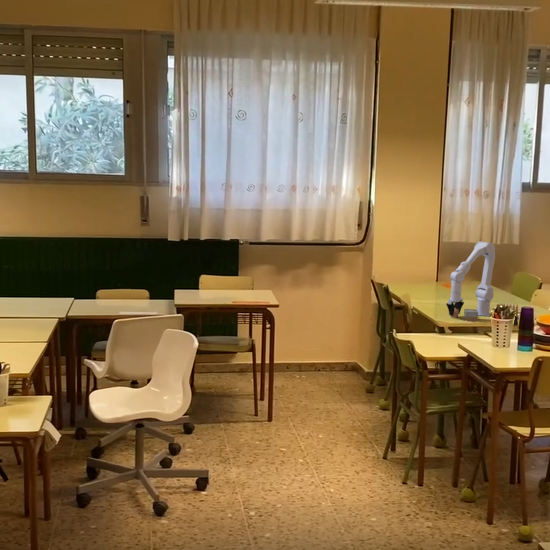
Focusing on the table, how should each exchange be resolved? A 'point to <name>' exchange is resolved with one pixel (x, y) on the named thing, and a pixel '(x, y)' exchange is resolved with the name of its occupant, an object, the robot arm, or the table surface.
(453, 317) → the pink cylinder
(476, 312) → the tower top
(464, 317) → the tower base
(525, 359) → the table surface
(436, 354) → the table surface
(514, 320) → the ammunition clip
